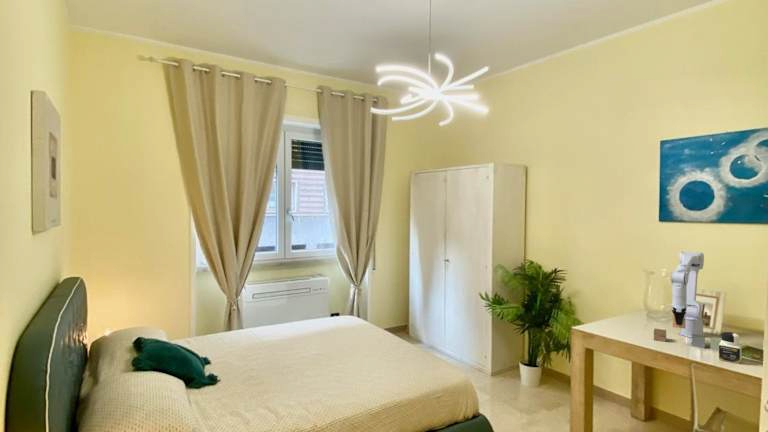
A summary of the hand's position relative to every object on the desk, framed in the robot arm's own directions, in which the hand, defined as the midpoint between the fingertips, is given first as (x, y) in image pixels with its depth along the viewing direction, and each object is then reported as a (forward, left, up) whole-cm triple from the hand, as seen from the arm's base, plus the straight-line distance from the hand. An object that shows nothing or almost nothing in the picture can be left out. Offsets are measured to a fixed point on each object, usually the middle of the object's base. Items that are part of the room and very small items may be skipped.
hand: (679, 323), depth 203 cm
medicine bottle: (-3, +22, -11) cm, 25 cm away
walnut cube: (+3, -8, -10) cm, 14 cm away
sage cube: (-11, +10, -10) cm, 18 cm away
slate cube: (-7, +4, -10) cm, 13 cm away
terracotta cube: (0, 0, -2) cm, 2 cm away
